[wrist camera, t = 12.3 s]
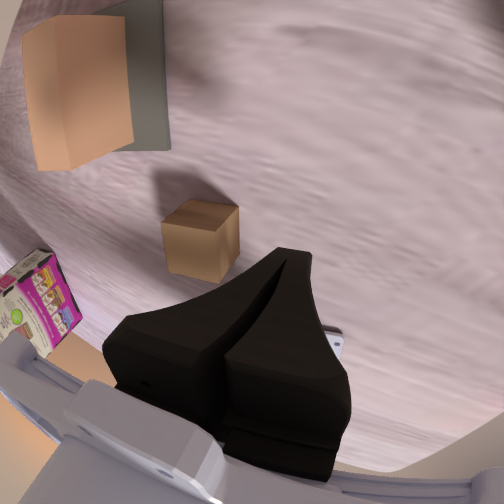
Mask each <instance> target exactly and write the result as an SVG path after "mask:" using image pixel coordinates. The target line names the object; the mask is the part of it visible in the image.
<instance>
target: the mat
mask: <svg viewBox="0 0 504 504" xmlns="http://www.w3.org/2000/svg"><path fill="white" fill-rule="evenodd" d="M92 15H105V16H122V17H125V39H126V59H127V75H128V88H129V99H130V109H131V119H132V128H133V136H134V142H133V143H130V144H128V145H126V146H123V147H121V148H119V149H116V150H114V151H168V150H170V149H171V142H170V131H169V120H168V108H167V95H166V81H165V64H164V43H163V12H162V0H129V1H126V2H123V3H120V4H117V5H114V6H112V7H109V8H107V9H104V10H102V11H99V12H97V13H94V14H92ZM114 151H112V152H114Z"/></svg>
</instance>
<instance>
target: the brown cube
mask: <svg viewBox="0 0 504 504" xmlns="http://www.w3.org/2000/svg"><path fill="white" fill-rule="evenodd" d="M161 228H162V235H163V241H164V247H165V254H166V260H167V265H168V271H169V272H171V273H175V274H179V275H184V276H188V277H192V278H196V279H200V280H204V281H208V282H212V283H217V284H219V283H220V281H221V280H222V279H223V277H224V276H225V274H226V273H227V271H228V270H229V269H230V267H231V266H232V264H233V263H234V261H235V260H236V259H237V257H238V256H239V254H240V244H239V206H234V205H227V204H219V203H212V202H205V201H197V200H188V201H187V202H185V203H184V204H183V205H182V206H180V207H179V208H178V209H177V210H175V211H174V212H173V213H172V214H170V215H169V216H168V217H167V218H166V219H164V220H163V221H162V222H161Z"/></svg>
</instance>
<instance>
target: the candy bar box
mask: <svg viewBox="0 0 504 504" xmlns="http://www.w3.org/2000/svg"><path fill="white" fill-rule="evenodd" d="M82 319H83V318H82V315H81V313H80V311H79V309H78V306H77V304H76V302H75V300H74V298H73V296H72V294H71V291H70V289H69V287H68V285H67V282H66V280H65V278H64V276H63V273H62V271H61V269H60V266H59V264H58V261H57V259H56V256H55V254H54V253H53V252H49V251H45V250H41V249H35V250H34V251H32V252H31V253H30V254H28V255H27V256H26V257H25V258H23V259H22V260H21V261H20V262H18V263H17V264H16V265H15V266H13V267H12V268H11V269H10V270H8V271H7V272H6V273H5V274H4V275H2V276H1V277H0V344H1V342H2V341H3V340H4V339H5V338H6V337H7V336H8V335H9V334H10V333H11V332H12V331H13V330H16V331H17V332H19V333H20V334H22V335H23V336H25V337H26V338H27V339H29V340H30V341H31V343H32V344H33V345H34V347H35V348H36V350H37V352H38V354H39V355H40V356H42V357H43V358H46V357H47V356H48V355H49V354H50V353H51V352H52V351H53V350H54V348H55V347H56V346H57V345H58V344H59V343H60V342H61V341H62V340H63V339H64V338H65V337H66V336H67V334H68V333H69V332H70V331H71V330H72V329H73V328H74V327H75V326H76V325H77V324H78V323H79V322H80V321H81V320H82Z"/></svg>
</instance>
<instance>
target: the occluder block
mask: <svg viewBox="0 0 504 504" xmlns="http://www.w3.org/2000/svg"><path fill="white" fill-rule="evenodd" d="M22 57H23V73H24V85H25V95H26V103H27V111H28V118H29V125H30V131H31V137H32V143H33V148H34V153H35V158H36V163H37V168H38V171H63V170H73V169H75V168H77V167H79V166H81V165H83V164H86V163H88V162H90V161H92V160H94V159H96V158H98V157H101V156H103V155H105V154H107V153H109V152H112V151H114V150H116V149H119V148H121V147H123V146H126V145H128V144H130V143H133V142H134V136H133V128H132V119H131V109H130V99H129V88H128V75H127V59H126V39H125V17H122V16H105V15H55V16H53V17H52V18H50V19H48V20H46V21H45V22H43V23H41V24H39V25H38V26H36V27H35V28H33V29H31V30H30V31H28V32H26V33H25V34H23V35H22Z"/></svg>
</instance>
